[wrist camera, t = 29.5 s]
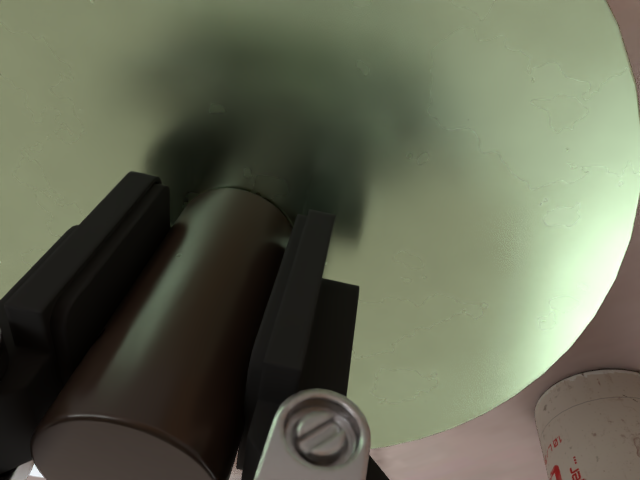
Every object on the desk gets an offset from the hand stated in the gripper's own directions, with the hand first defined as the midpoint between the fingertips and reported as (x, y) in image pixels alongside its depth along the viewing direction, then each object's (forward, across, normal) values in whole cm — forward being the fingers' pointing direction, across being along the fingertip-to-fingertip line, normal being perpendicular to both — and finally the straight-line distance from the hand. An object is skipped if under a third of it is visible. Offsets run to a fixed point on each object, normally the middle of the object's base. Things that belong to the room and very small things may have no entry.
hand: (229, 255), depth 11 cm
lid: (+1, 0, 0) cm, 1 cm away
